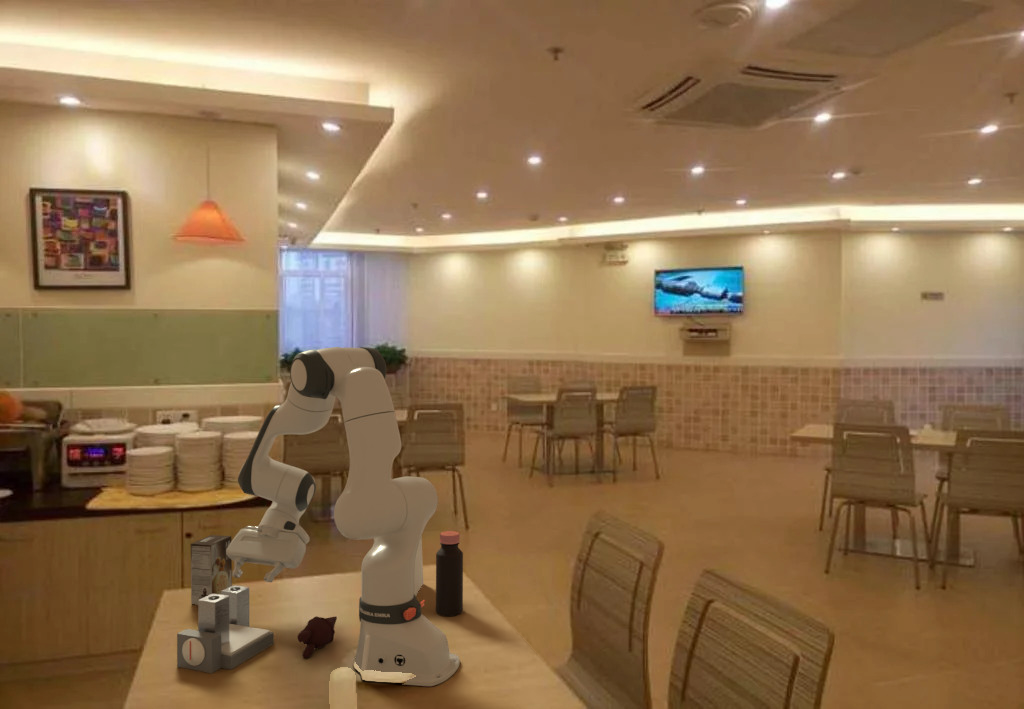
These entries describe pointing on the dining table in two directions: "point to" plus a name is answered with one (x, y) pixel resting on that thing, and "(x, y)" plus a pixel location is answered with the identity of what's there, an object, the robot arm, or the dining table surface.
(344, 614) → the dining table surface
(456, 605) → the bottle
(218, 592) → the coffee box
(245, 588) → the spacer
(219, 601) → the post
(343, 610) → the dining table surface
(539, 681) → the dining table surface
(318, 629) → the icecream
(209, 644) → the scale
